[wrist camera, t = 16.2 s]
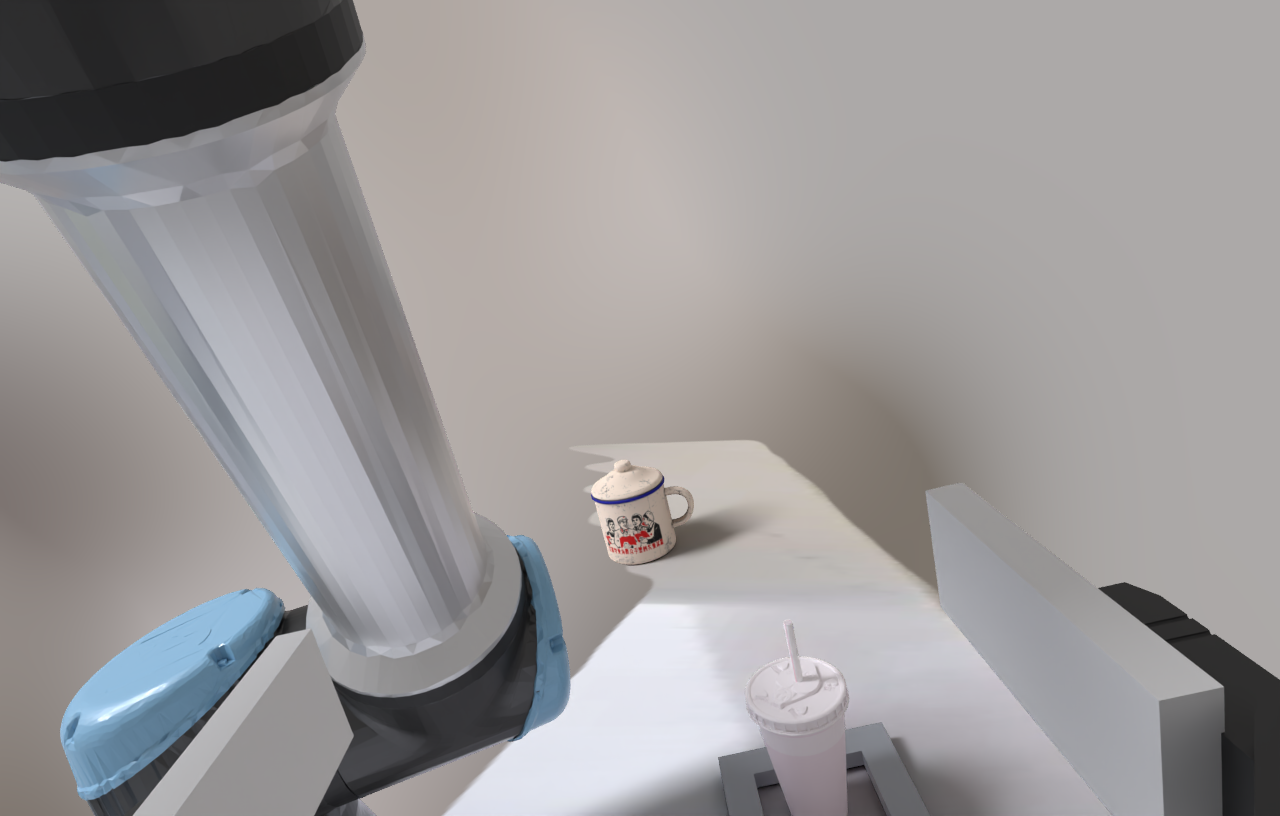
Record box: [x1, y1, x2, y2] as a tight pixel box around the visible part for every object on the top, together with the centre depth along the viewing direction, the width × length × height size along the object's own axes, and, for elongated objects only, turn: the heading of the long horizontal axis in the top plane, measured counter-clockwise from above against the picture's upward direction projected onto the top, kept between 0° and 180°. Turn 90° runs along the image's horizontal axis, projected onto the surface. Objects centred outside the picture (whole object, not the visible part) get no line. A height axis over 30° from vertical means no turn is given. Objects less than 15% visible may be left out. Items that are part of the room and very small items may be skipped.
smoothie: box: [745, 620, 849, 816], centre depth 46 cm, size 6×6×14 cm
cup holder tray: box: [718, 722, 930, 816], centre depth 39 cm, size 12×24×13 cm, turn 2°
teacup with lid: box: [591, 460, 694, 565], centre depth 88 cm, size 12×9×12 cm
